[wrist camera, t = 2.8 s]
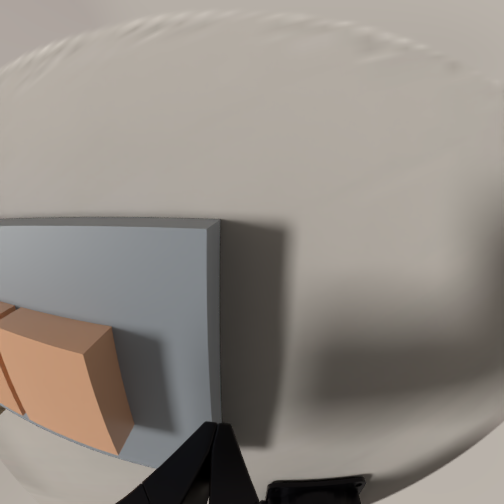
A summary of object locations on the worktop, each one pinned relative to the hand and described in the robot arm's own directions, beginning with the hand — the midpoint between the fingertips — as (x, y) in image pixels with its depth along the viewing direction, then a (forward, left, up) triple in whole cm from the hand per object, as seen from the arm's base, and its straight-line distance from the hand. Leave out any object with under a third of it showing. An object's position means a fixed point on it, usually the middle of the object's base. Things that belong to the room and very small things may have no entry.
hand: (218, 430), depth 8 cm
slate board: (+9, 0, -4) cm, 9 cm away
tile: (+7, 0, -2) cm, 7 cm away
